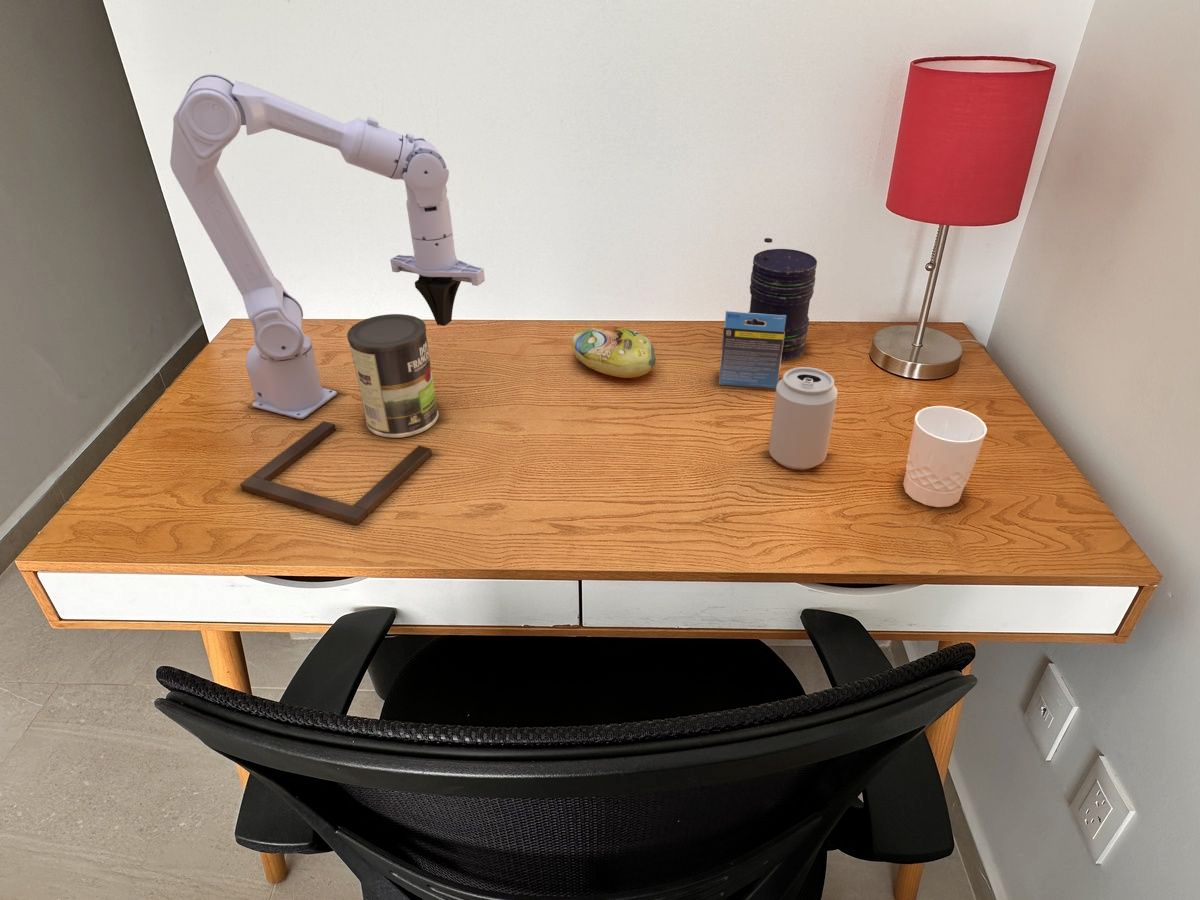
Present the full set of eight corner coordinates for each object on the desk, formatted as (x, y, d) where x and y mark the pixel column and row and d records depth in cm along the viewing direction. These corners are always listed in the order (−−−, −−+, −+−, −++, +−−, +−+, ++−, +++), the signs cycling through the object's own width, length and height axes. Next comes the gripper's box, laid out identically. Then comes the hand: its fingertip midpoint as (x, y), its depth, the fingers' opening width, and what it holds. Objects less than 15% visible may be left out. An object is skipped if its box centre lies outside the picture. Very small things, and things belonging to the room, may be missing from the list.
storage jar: (805, 336, 134) (821, 231, 124) (804, 363, 126) (821, 254, 116) (746, 331, 136) (756, 227, 126) (741, 357, 128) (751, 249, 118)
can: (828, 446, 107) (842, 367, 100) (822, 478, 101) (837, 396, 94) (772, 437, 109) (782, 359, 102) (763, 467, 103) (773, 387, 96)
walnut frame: (241, 490, 100) (239, 484, 100) (324, 426, 112) (323, 420, 112) (357, 525, 94) (355, 519, 94) (432, 454, 106) (431, 448, 106)
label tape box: (777, 377, 122) (786, 303, 115) (777, 391, 119) (787, 315, 112) (719, 373, 124) (725, 300, 117) (718, 386, 120) (724, 311, 113)
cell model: (625, 382, 117) (558, 320, 122) (619, 411, 123) (556, 351, 128) (676, 345, 121) (609, 287, 126) (668, 376, 128) (605, 319, 133)
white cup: (957, 518, 94) (979, 449, 88) (890, 497, 97) (907, 429, 92) (971, 484, 99) (992, 417, 94) (907, 465, 103) (924, 399, 97)
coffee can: (449, 403, 117) (437, 316, 109) (422, 442, 109) (407, 350, 101) (384, 397, 119) (367, 310, 111) (353, 434, 111) (332, 343, 103)
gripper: (491, 230, 111) (500, 319, 119) (405, 218, 116) (418, 304, 124) (465, 247, 106) (475, 339, 114) (375, 234, 111) (391, 322, 119)
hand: (444, 322), depth 118 cm, fingers closed
